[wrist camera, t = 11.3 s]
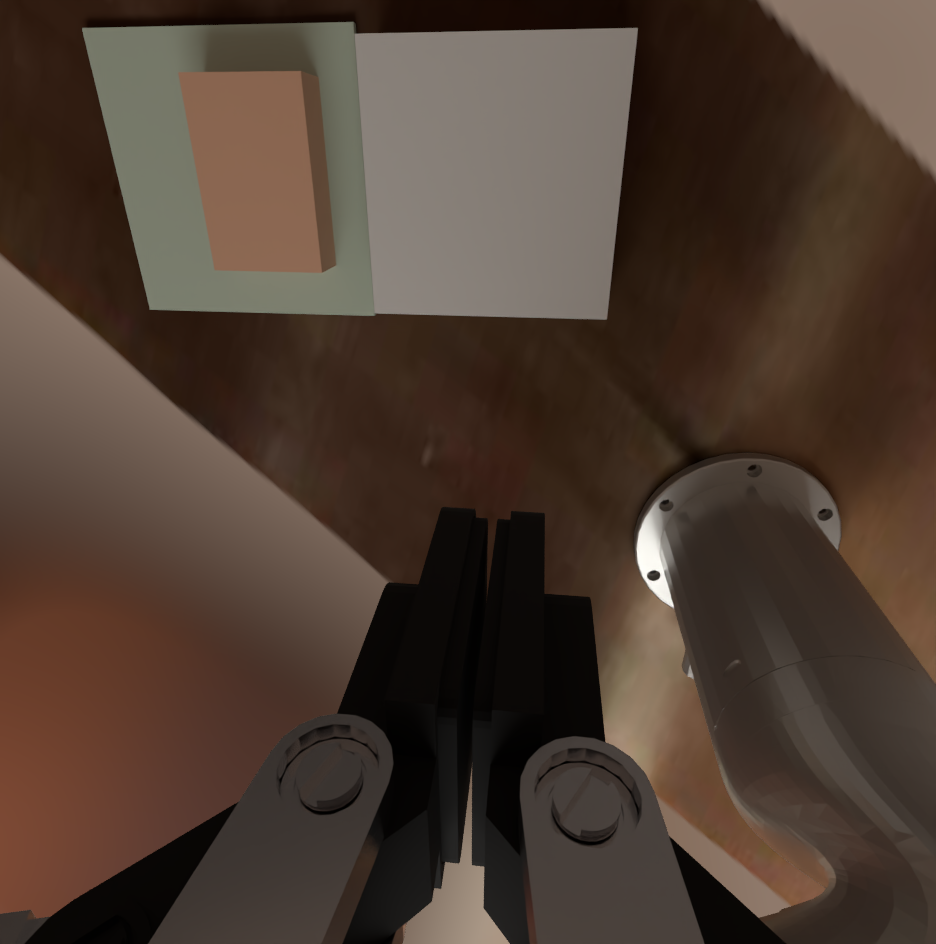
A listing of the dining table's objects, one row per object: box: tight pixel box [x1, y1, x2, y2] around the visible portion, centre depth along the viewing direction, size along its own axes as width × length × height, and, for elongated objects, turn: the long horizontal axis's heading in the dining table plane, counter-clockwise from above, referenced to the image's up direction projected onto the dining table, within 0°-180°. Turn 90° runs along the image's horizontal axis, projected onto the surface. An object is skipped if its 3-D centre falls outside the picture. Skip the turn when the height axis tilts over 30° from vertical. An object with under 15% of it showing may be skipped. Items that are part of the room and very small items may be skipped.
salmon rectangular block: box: [178, 71, 336, 273], centre depth 31 cm, size 9×6×2 cm, turn 0°
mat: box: [82, 22, 376, 316], centre depth 33 cm, size 14×14×1 cm
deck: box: [355, 28, 638, 320], centre depth 30 cm, size 12×12×4 cm
